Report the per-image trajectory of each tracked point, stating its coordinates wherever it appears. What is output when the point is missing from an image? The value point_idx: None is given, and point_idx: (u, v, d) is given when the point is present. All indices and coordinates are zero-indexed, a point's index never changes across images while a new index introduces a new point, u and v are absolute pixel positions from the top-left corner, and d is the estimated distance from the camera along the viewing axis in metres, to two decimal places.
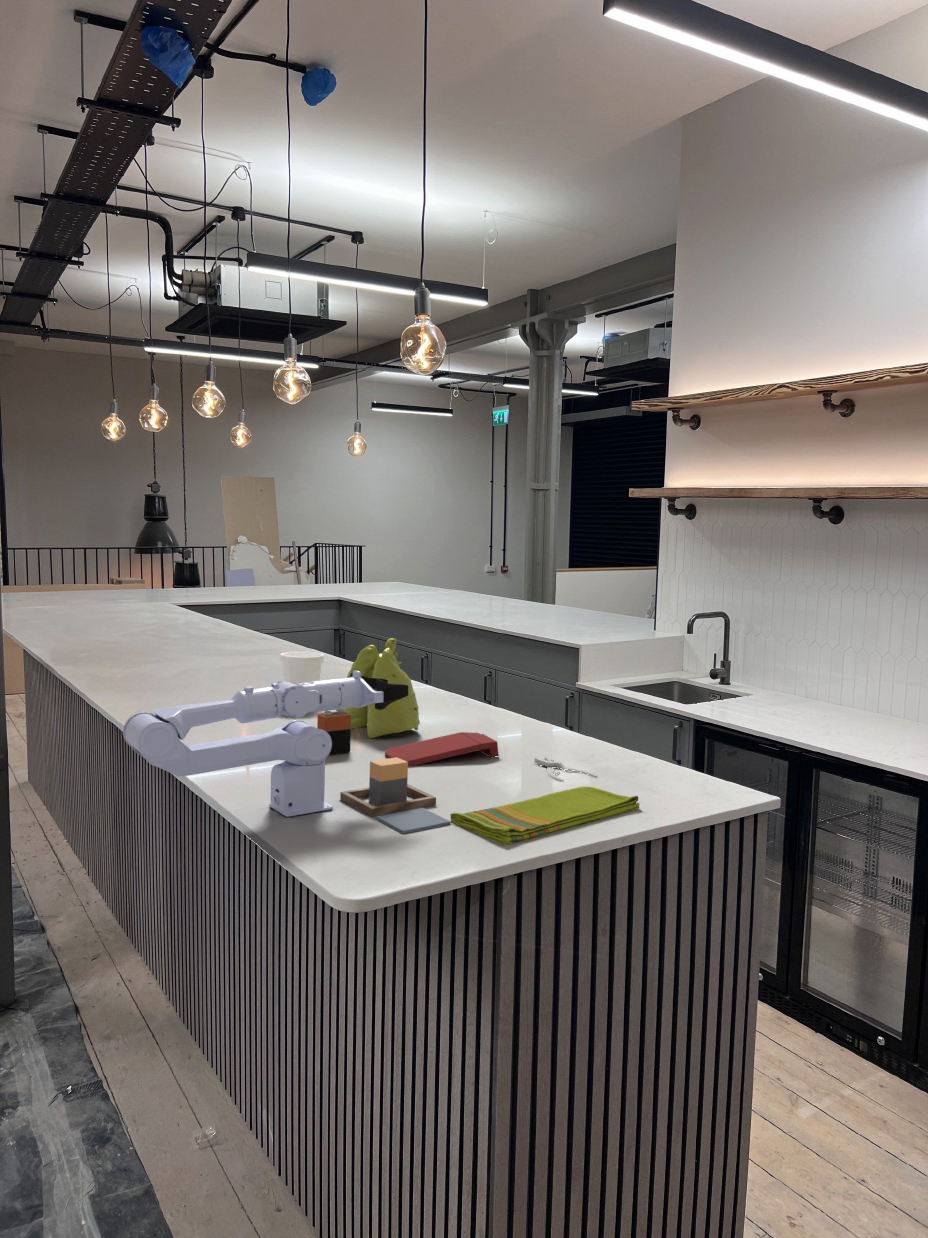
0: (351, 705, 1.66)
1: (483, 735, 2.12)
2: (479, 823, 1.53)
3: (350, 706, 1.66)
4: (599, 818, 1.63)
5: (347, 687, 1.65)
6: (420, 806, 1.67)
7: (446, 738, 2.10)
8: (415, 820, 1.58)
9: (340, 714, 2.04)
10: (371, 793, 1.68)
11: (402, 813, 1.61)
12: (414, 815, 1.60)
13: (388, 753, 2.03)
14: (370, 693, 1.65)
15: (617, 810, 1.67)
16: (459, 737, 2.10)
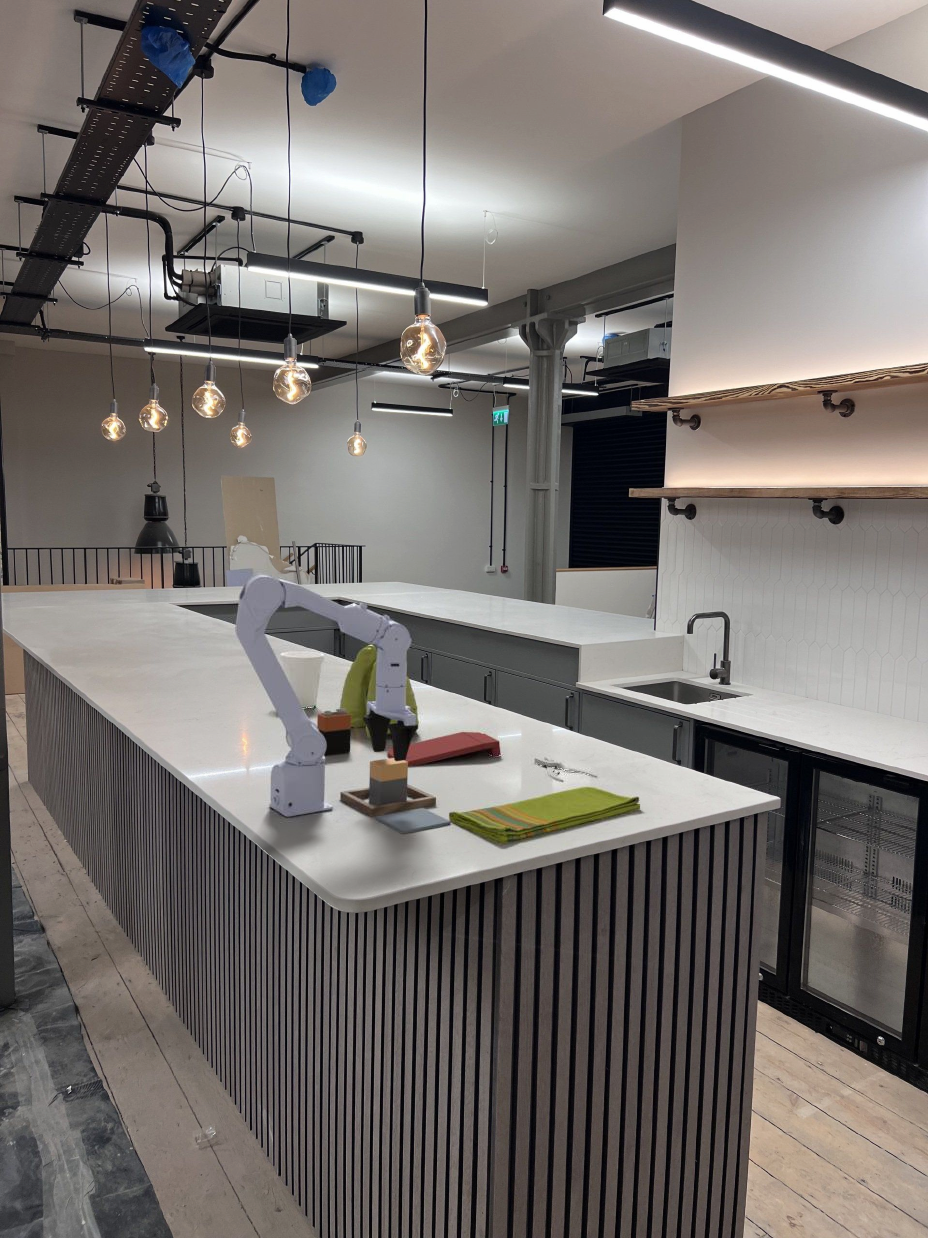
0: (386, 701, 1.65)
1: (485, 735, 2.13)
2: (476, 822, 1.54)
3: (384, 700, 1.65)
4: (598, 819, 1.63)
5: (404, 694, 1.66)
6: (420, 806, 1.67)
7: (448, 738, 2.10)
8: (415, 820, 1.58)
9: (340, 714, 2.04)
10: (371, 793, 1.68)
11: (402, 813, 1.61)
12: (414, 815, 1.60)
13: (391, 753, 2.03)
14: None
15: (617, 811, 1.66)
16: (461, 737, 2.10)
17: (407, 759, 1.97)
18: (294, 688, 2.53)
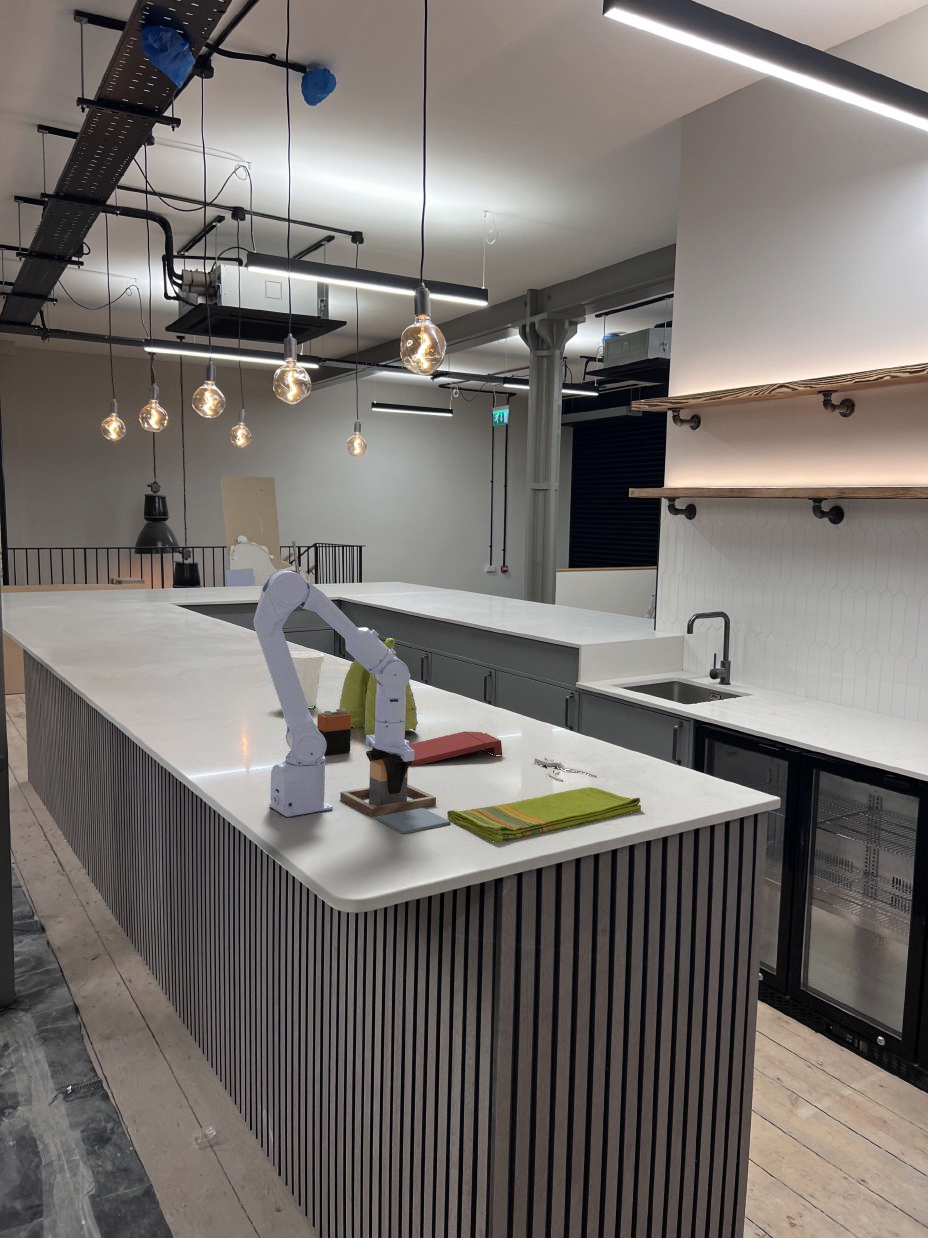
0: (385, 736, 1.65)
1: (486, 734, 2.14)
2: (473, 821, 1.54)
3: (383, 735, 1.65)
4: (597, 819, 1.63)
5: (403, 729, 1.67)
6: (420, 806, 1.67)
7: (449, 737, 2.11)
8: (415, 820, 1.58)
9: (340, 714, 2.04)
10: (371, 793, 1.68)
11: (402, 813, 1.61)
12: (414, 815, 1.60)
13: None
14: None
15: (617, 811, 1.66)
16: (462, 736, 2.10)
17: None
18: None
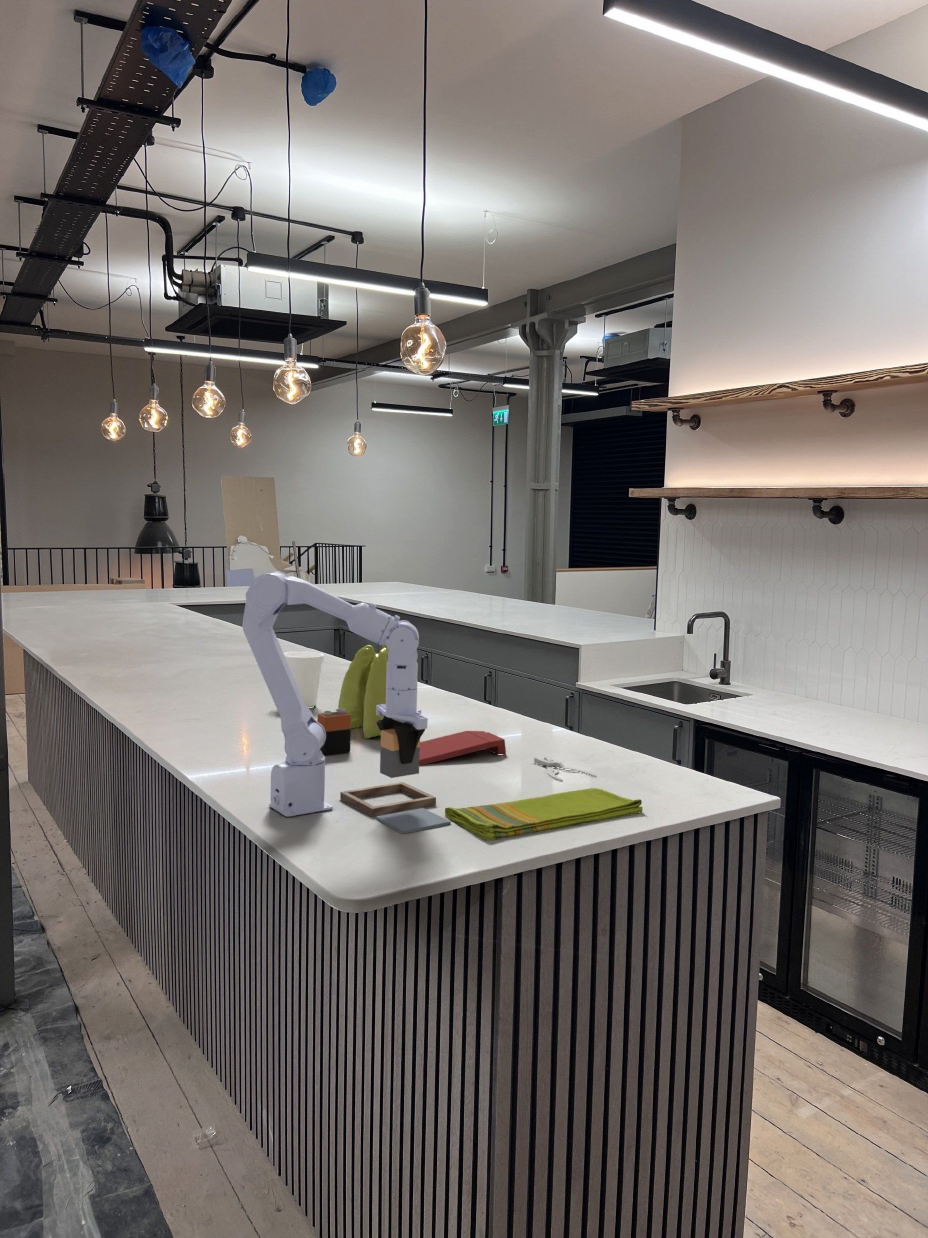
0: (397, 704, 1.60)
1: (489, 733, 2.15)
2: (467, 818, 1.56)
3: (395, 703, 1.60)
4: (595, 820, 1.62)
5: (415, 697, 1.62)
6: (420, 806, 1.67)
7: (453, 737, 2.12)
8: (415, 820, 1.58)
9: (340, 714, 2.04)
10: (382, 763, 1.63)
11: (402, 813, 1.61)
12: (414, 815, 1.60)
13: None
14: None
15: (616, 813, 1.65)
16: (466, 736, 2.11)
17: None
18: None
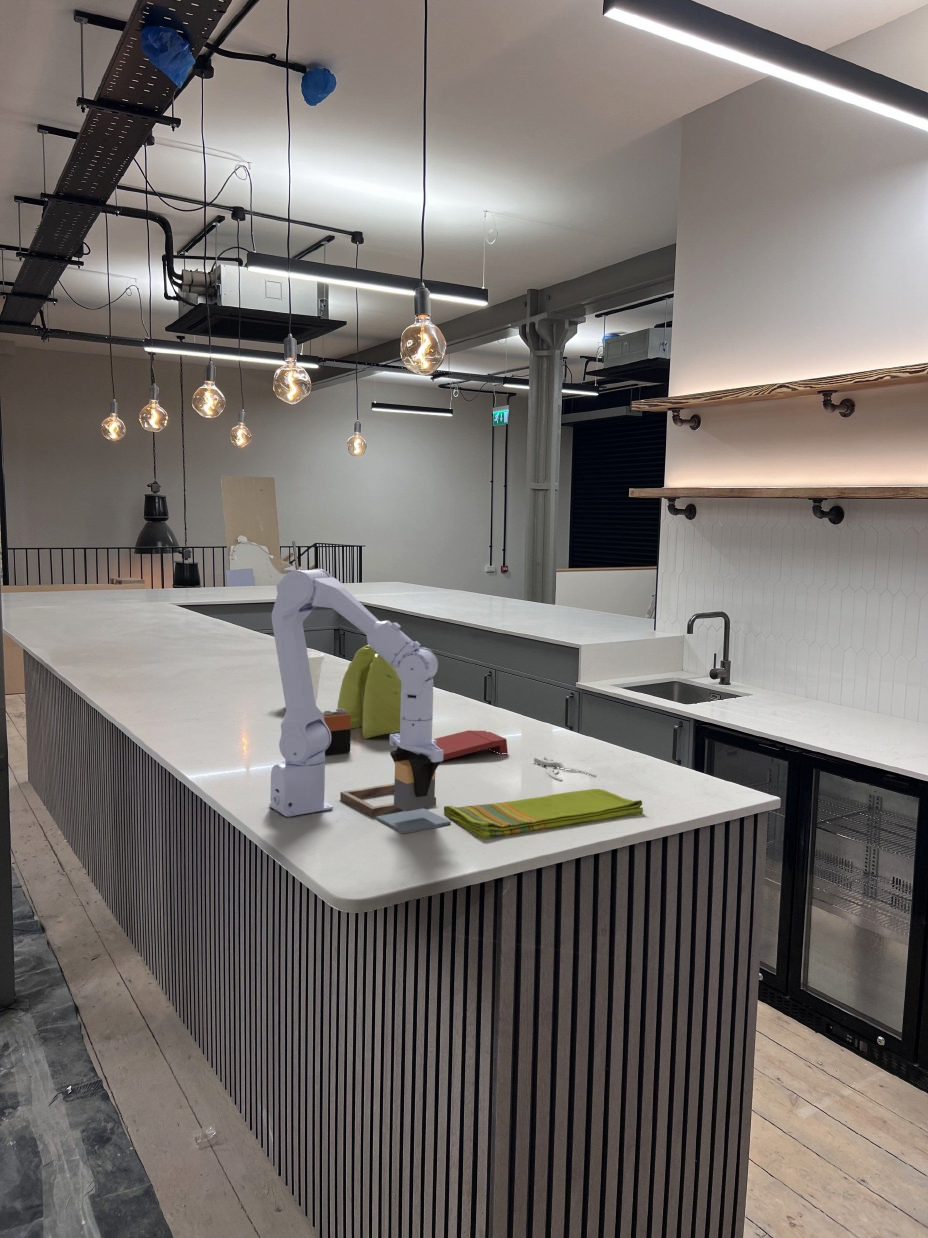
0: (411, 735, 1.54)
1: (490, 733, 2.15)
2: (464, 817, 1.57)
3: (410, 734, 1.54)
4: (593, 820, 1.62)
5: (431, 727, 1.56)
6: None
7: (455, 736, 2.12)
8: (415, 820, 1.58)
9: (340, 714, 2.04)
10: (396, 796, 1.57)
11: (402, 813, 1.61)
12: (414, 815, 1.60)
13: None
14: None
15: (615, 813, 1.65)
16: (467, 735, 2.12)
17: None
18: None
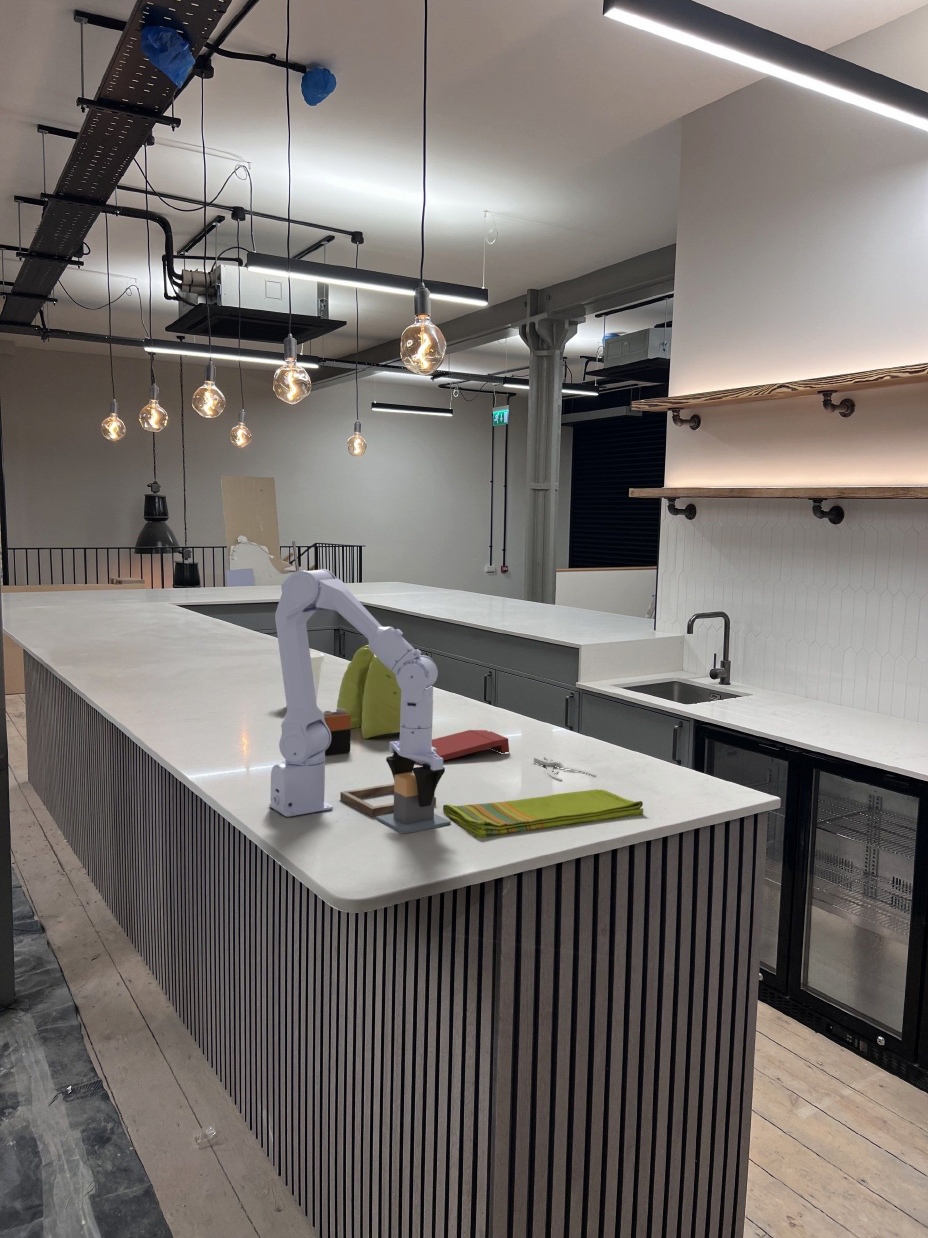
0: (411, 743, 1.54)
1: (492, 732, 2.16)
2: (461, 815, 1.57)
3: (409, 742, 1.54)
4: (592, 820, 1.62)
5: (430, 735, 1.56)
6: None
7: (456, 736, 2.12)
8: None
9: (340, 714, 2.04)
10: (395, 809, 1.58)
11: None
12: None
13: None
14: None
15: (615, 814, 1.64)
16: (469, 735, 2.12)
17: None
18: None
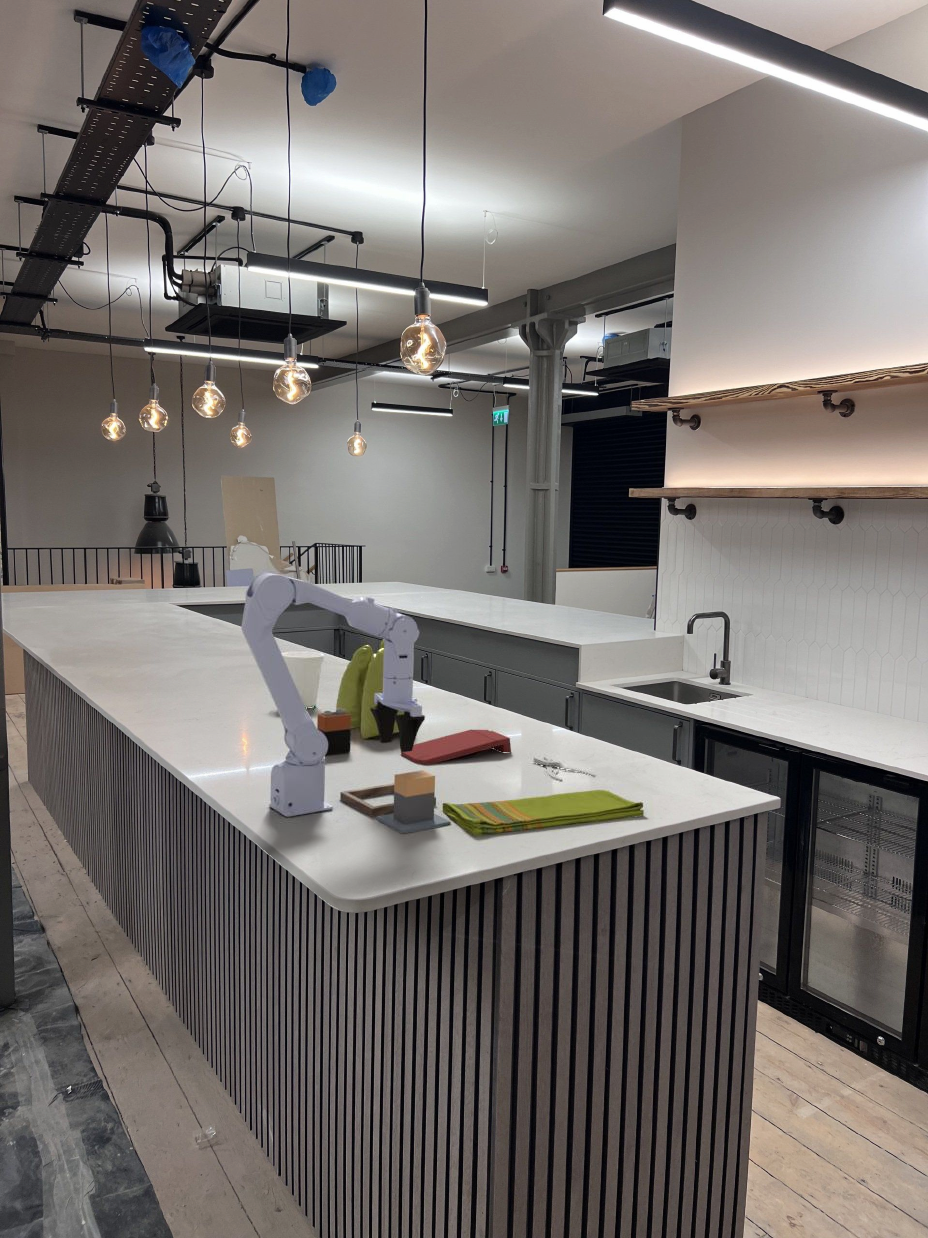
0: (393, 692, 1.66)
1: (493, 732, 2.16)
2: (459, 814, 1.58)
3: (391, 691, 1.66)
4: (591, 820, 1.62)
5: (411, 686, 1.68)
6: None
7: (458, 736, 2.13)
8: None
9: (340, 714, 2.04)
10: (395, 809, 1.58)
11: None
12: None
13: (405, 752, 2.04)
14: None
15: (614, 815, 1.64)
16: (471, 734, 2.13)
17: (424, 758, 1.99)
18: None
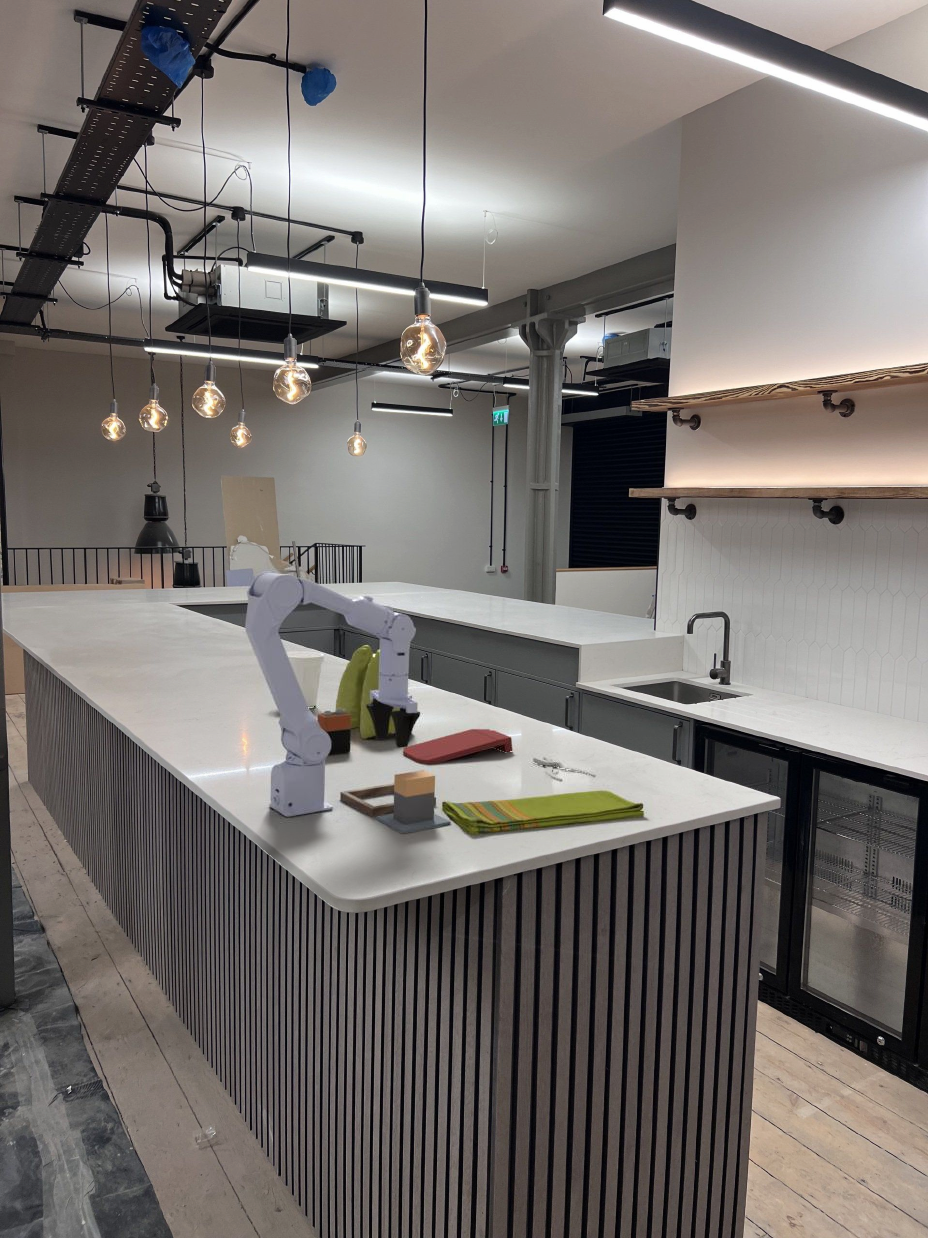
0: (389, 689, 1.70)
1: (494, 731, 2.17)
2: (457, 812, 1.59)
3: (387, 688, 1.70)
4: (589, 821, 1.61)
5: (406, 683, 1.71)
6: None
7: (459, 735, 2.13)
8: None
9: (340, 714, 2.04)
10: (395, 809, 1.58)
11: None
12: None
13: (407, 752, 2.05)
14: (409, 702, 1.69)
15: (613, 815, 1.64)
16: (472, 734, 2.13)
17: (427, 757, 2.00)
18: None
